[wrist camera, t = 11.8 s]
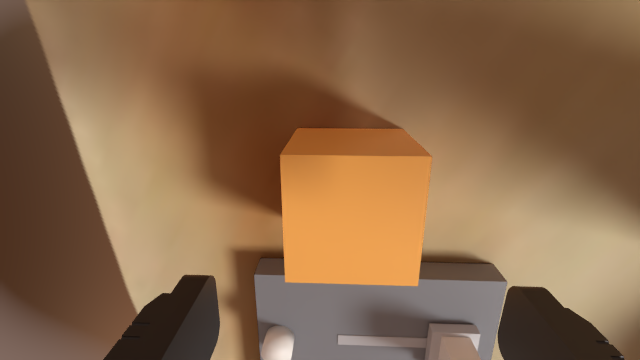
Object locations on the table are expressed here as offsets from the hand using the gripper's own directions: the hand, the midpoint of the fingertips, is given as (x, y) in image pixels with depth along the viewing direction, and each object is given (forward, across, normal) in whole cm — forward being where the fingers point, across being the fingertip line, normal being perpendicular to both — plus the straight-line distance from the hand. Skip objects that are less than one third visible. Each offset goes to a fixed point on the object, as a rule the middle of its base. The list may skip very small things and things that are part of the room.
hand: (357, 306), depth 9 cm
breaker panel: (+12, -3, +17) cm, 21 cm away
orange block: (+13, 0, +1) cm, 13 cm away
